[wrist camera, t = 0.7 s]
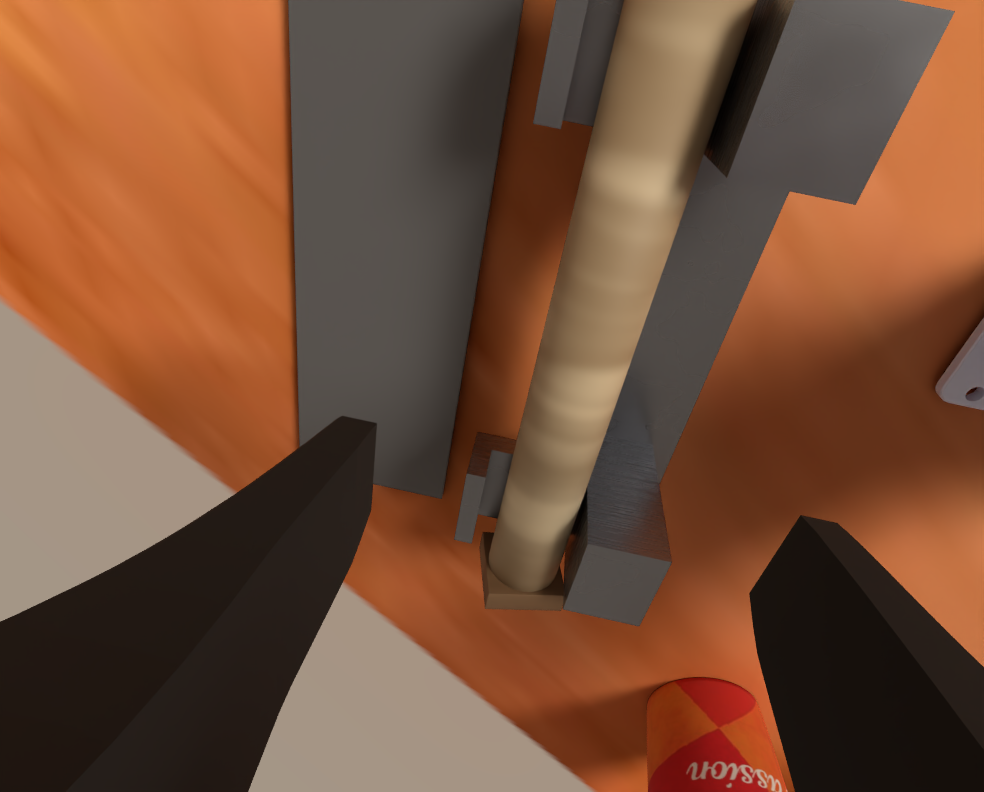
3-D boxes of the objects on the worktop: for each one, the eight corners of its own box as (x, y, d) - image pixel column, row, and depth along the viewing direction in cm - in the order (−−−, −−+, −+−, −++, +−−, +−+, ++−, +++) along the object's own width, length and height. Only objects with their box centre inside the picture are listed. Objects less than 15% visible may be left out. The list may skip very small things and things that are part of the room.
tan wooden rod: (633, -130, 11) (684, -161, 9) (759, -98, 11) (836, -120, 9) (479, 547, 21) (485, 608, 19) (548, 550, 22) (560, 610, 19)
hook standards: (875, -27, 13) (1051, -60, 8) (638, 516, 23) (654, 650, 18) (580, -86, 13) (579, -152, 8) (470, 479, 23) (439, 602, 18)
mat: (548, -151, 13) (547, -156, 13) (443, 492, 24) (441, 498, 24) (290, -201, 13) (283, -207, 13) (304, 461, 24) (300, 467, 24)
